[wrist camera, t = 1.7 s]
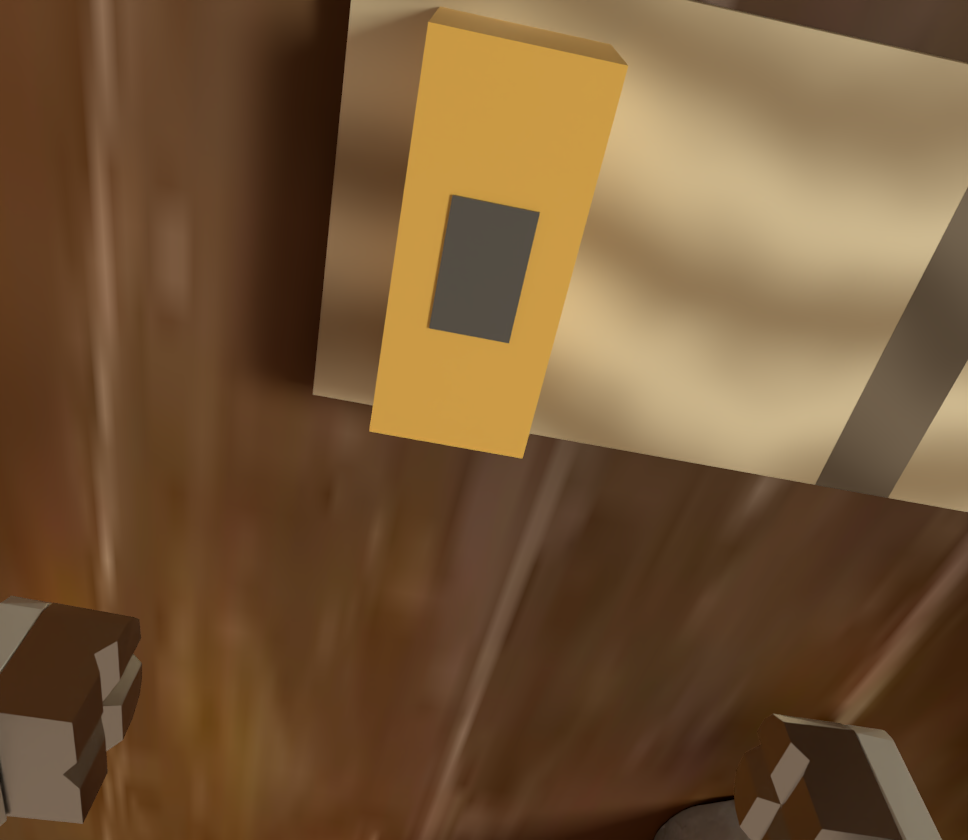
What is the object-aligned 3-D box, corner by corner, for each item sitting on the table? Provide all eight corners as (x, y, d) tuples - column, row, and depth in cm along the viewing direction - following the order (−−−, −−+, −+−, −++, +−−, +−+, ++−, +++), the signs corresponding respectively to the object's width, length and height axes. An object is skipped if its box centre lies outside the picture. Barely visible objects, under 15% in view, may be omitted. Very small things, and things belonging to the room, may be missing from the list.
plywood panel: (364, -75, 23) (358, -75, 22) (1197, 115, 25) (1227, 123, 24) (319, 378, 31) (312, 394, 30) (957, 494, 33) (971, 512, 32)
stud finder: (439, 6, 23) (427, 22, 19) (610, 44, 23) (628, 66, 20) (385, 371, 29) (368, 432, 26) (520, 396, 30) (522, 459, 26)
